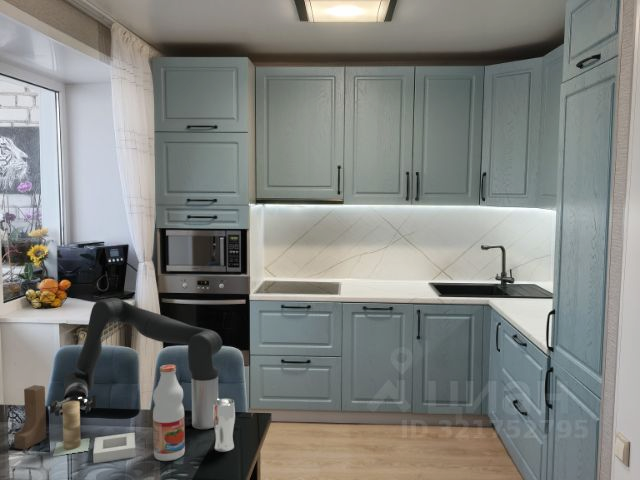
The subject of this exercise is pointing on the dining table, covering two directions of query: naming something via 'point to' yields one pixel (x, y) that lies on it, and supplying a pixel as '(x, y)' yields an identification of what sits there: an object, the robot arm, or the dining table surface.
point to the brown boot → (32, 418)
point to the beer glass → (224, 424)
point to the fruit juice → (168, 416)
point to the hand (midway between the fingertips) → (72, 411)
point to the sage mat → (61, 451)
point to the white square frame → (114, 447)
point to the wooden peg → (71, 425)
